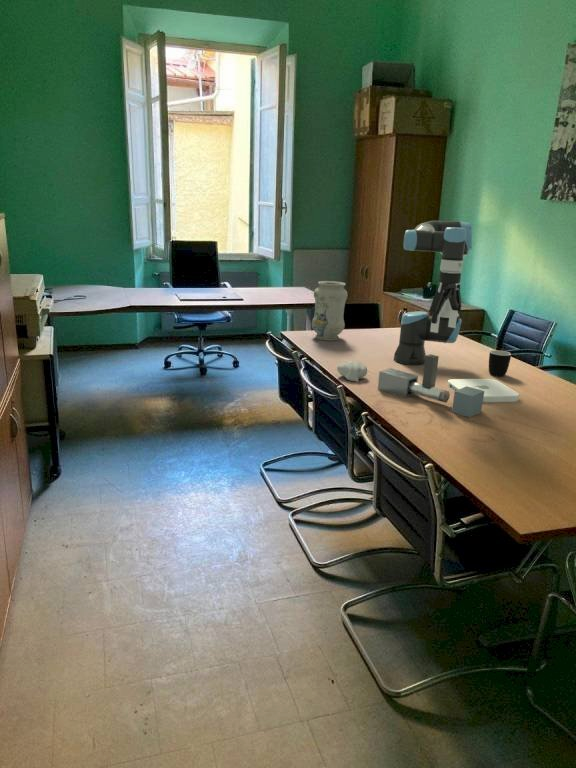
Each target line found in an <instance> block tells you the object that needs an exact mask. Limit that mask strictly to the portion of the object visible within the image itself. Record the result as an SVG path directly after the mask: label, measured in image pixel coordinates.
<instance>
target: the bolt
mask: <svg viewBox="0 0 576 768" xmlns="http://www.w3.org/2000/svg"><path fill="white" fill-rule="evenodd" d="M439 357H440V356H438V355H434V354H430V353H429V354H426V357H425V364H423V365H424V366H423V375H422V382H421V383H420V382H418V381H417V382H413V381H409V384H408V392H411V393H414V394H413V395H418V396H422V397H426V398H428V399H432V400H434V401H439V402H442V403H444V404H445V403H447V402H448V401H449V399H450V396H451V395H450V393H451V392H450V390H446V389H442V388H438V387H436V382H437V381H436V379H437V372H438V365H439Z"/></svg>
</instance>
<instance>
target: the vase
mask: <svg viewBox="0 0 576 768" xmlns="http://www.w3.org/2000/svg"><path fill="white" fill-rule="evenodd" d="M317 284H318V287H316V288H315V289H314V291H313V298H314V302H315V303H314V315H313V318H312V321H311V327H312V330H313V331H314V332H315V334H316V335H315V338H316V339H318V340H321V341H327V342H328V341H329V342H331V341H333V342H334V341H338V340H340V337H339V335H340V334H341V333H342V332H343V331H344V330H345V327H346V326H345V325H346V324H345V320H344V313H345V306H346V301H347V299H348V292H347V290H346V289H345V288H344V287H345V286H346V283H345V282H341V281H331V280H322V281H318V282H317Z"/></svg>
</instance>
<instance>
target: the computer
mask: <svg viewBox="0 0 576 768" xmlns="http://www.w3.org/2000/svg"><path fill="white" fill-rule="evenodd" d="M466 386H467V387H471V388H475V389H479V390H483V391H484V397H483V403H503V402H504V403H506V402H507V403H511V402H513V403H516V402H518V401H519V396H520V393H518V392H517V391H515V390H513V389H512V388H511V387H509V386H507V385H505V384H504V383H502V382H500V381H499V380H496V379H493V378H452V379H448V380H447V388H449V389H450V390H452V392H454V393H455V391H457V390H459V389H461V388H464V387H466Z"/></svg>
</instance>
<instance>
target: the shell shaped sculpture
mask: <svg viewBox="0 0 576 768" xmlns="http://www.w3.org/2000/svg"><path fill="white" fill-rule="evenodd" d="M336 367H337V368H336V369H337V372H338V374H339V375H341V376H342V377H344V378H345V379H346V380H348V381H351V382H355V383H356V382H357V383H358V382H359V380H360V379H363V378H364V377H366V375H367V374H368V367H367V365H366V364H365V363H362V362H361V361H359V360H356V361H354V360H349V361H343V362H342V363H339V364H337V366H336Z"/></svg>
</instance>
